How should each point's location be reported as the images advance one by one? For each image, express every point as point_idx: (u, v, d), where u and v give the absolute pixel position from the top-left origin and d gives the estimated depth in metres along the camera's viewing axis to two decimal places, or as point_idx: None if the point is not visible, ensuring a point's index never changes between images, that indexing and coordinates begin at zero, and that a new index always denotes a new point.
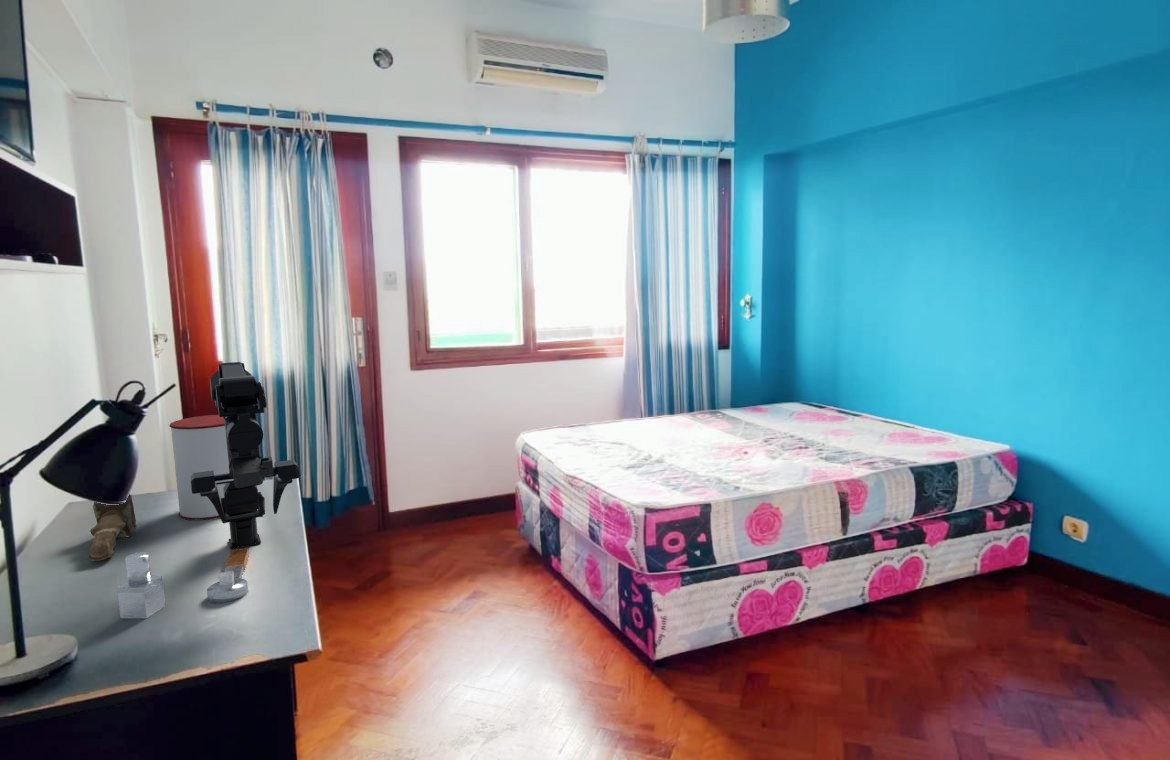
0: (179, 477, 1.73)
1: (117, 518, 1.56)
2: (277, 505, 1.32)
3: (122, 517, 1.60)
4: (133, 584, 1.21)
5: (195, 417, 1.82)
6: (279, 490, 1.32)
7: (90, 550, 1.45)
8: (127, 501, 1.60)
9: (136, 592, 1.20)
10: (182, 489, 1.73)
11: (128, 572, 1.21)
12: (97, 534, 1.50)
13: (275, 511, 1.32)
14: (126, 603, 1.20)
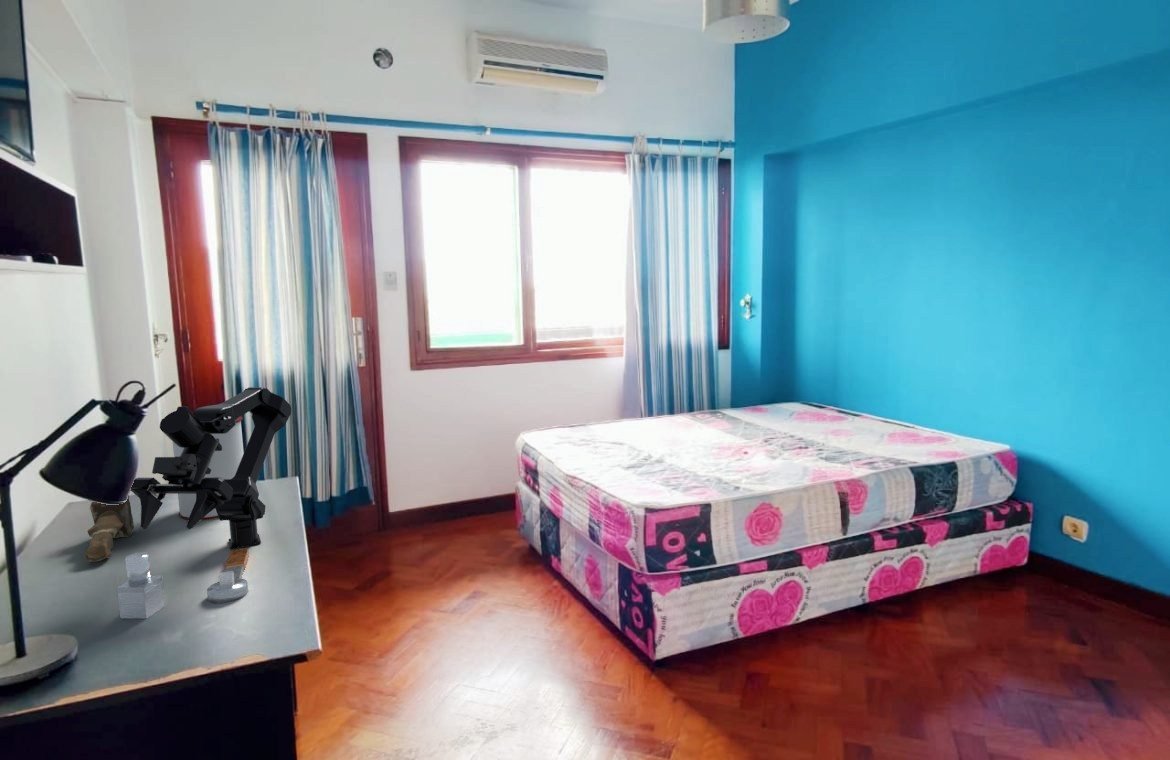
0: None
1: (114, 518, 1.56)
2: (191, 517, 1.29)
3: (119, 518, 1.59)
4: (133, 584, 1.21)
5: None
6: (198, 501, 1.31)
7: (87, 551, 1.44)
8: None
9: (136, 592, 1.20)
10: None
11: (128, 572, 1.21)
12: (94, 535, 1.50)
13: (187, 524, 1.29)
14: (126, 603, 1.20)
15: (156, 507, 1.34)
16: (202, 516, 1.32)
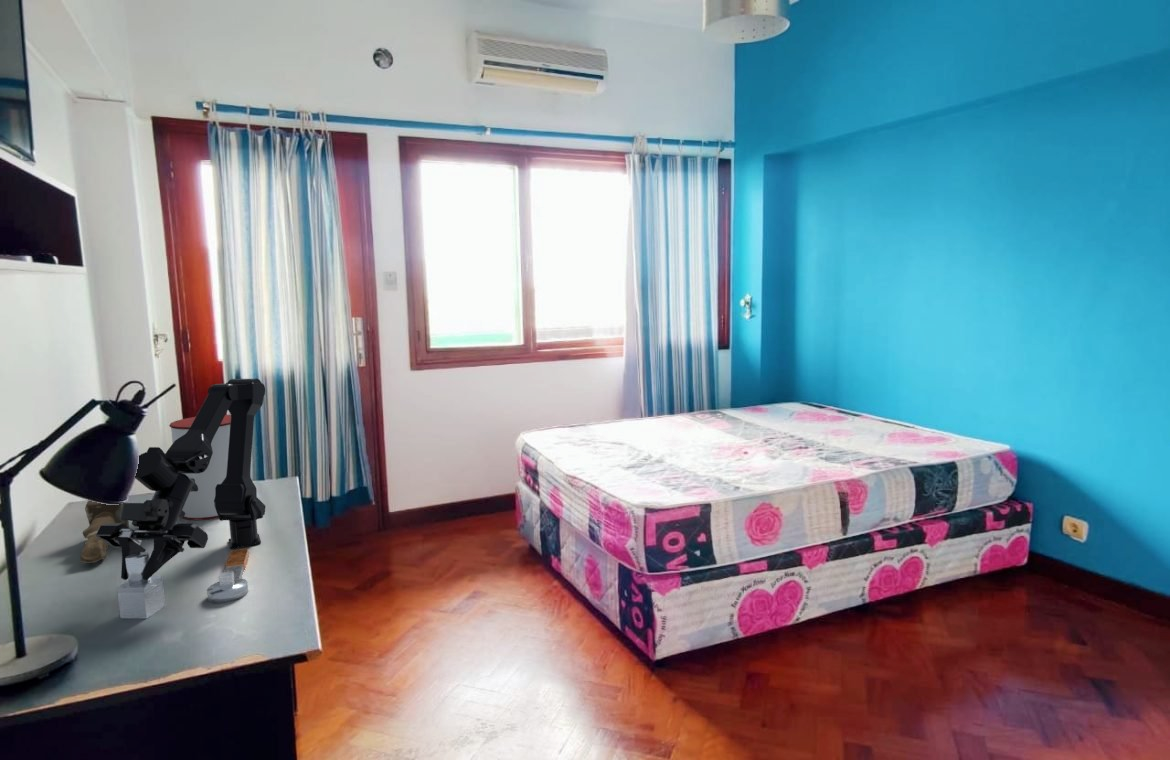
0: None
1: (109, 519, 1.55)
2: (148, 567, 1.21)
3: (115, 519, 1.58)
4: (133, 584, 1.21)
5: (195, 417, 1.83)
6: (156, 550, 1.23)
7: (82, 552, 1.44)
8: None
9: (136, 592, 1.20)
10: None
11: (128, 572, 1.21)
12: (89, 536, 1.49)
13: (143, 574, 1.21)
14: (126, 603, 1.20)
15: None
16: (160, 565, 1.24)
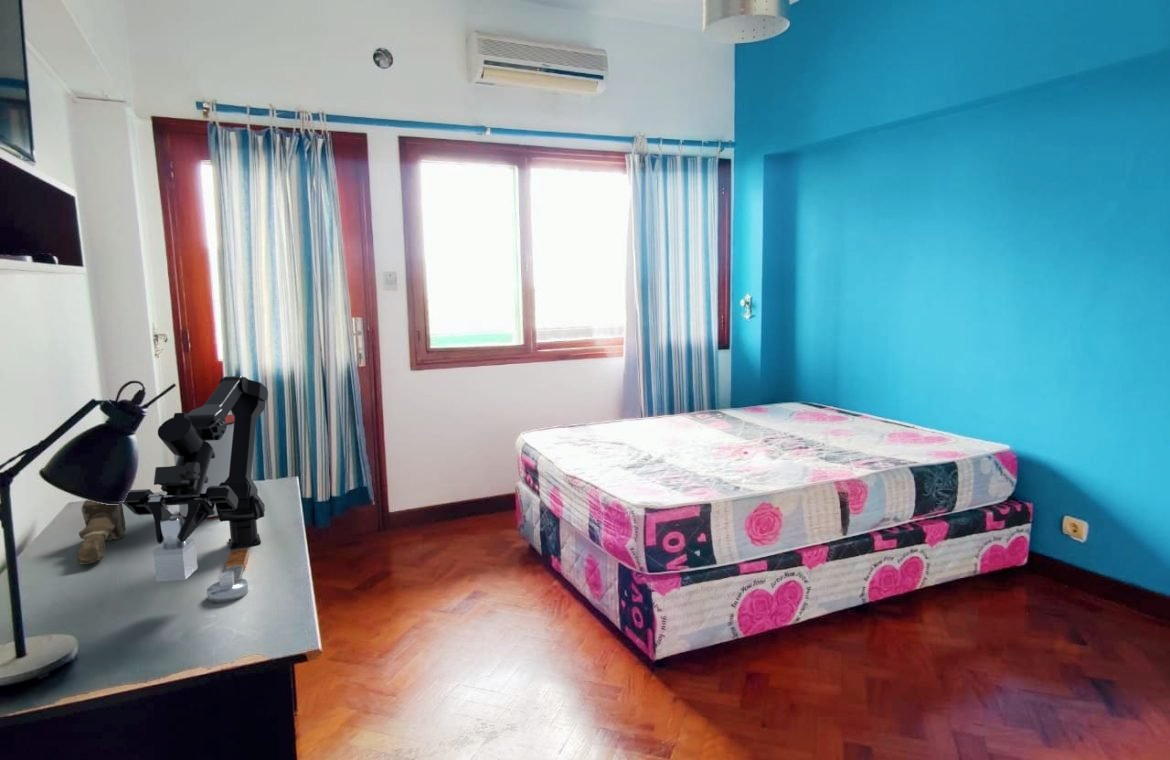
0: None
1: (106, 520, 1.54)
2: (185, 529, 1.23)
3: (111, 519, 1.58)
4: (170, 547, 1.22)
5: None
6: (191, 512, 1.24)
7: (79, 553, 1.43)
8: None
9: (174, 554, 1.22)
10: None
11: (164, 535, 1.22)
12: (86, 537, 1.48)
13: (181, 536, 1.22)
14: (163, 566, 1.22)
15: None
16: (194, 527, 1.25)
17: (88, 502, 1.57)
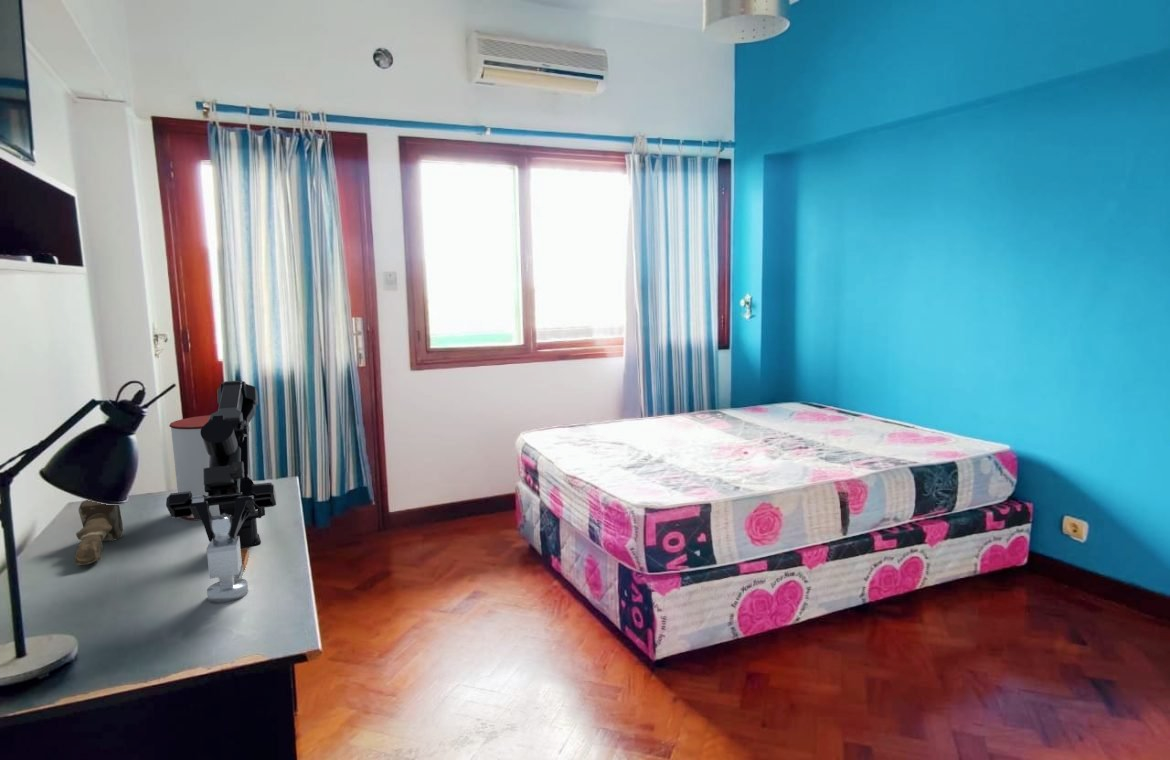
0: (179, 477, 1.73)
1: (103, 521, 1.54)
2: (235, 526, 1.28)
3: (108, 520, 1.58)
4: (222, 544, 1.27)
5: (195, 417, 1.83)
6: (238, 510, 1.29)
7: (76, 554, 1.43)
8: None
9: (227, 550, 1.26)
10: (182, 489, 1.73)
11: (216, 533, 1.26)
12: (83, 538, 1.48)
13: (233, 533, 1.27)
14: (216, 562, 1.26)
15: None
16: (240, 525, 1.30)
17: (85, 503, 1.57)
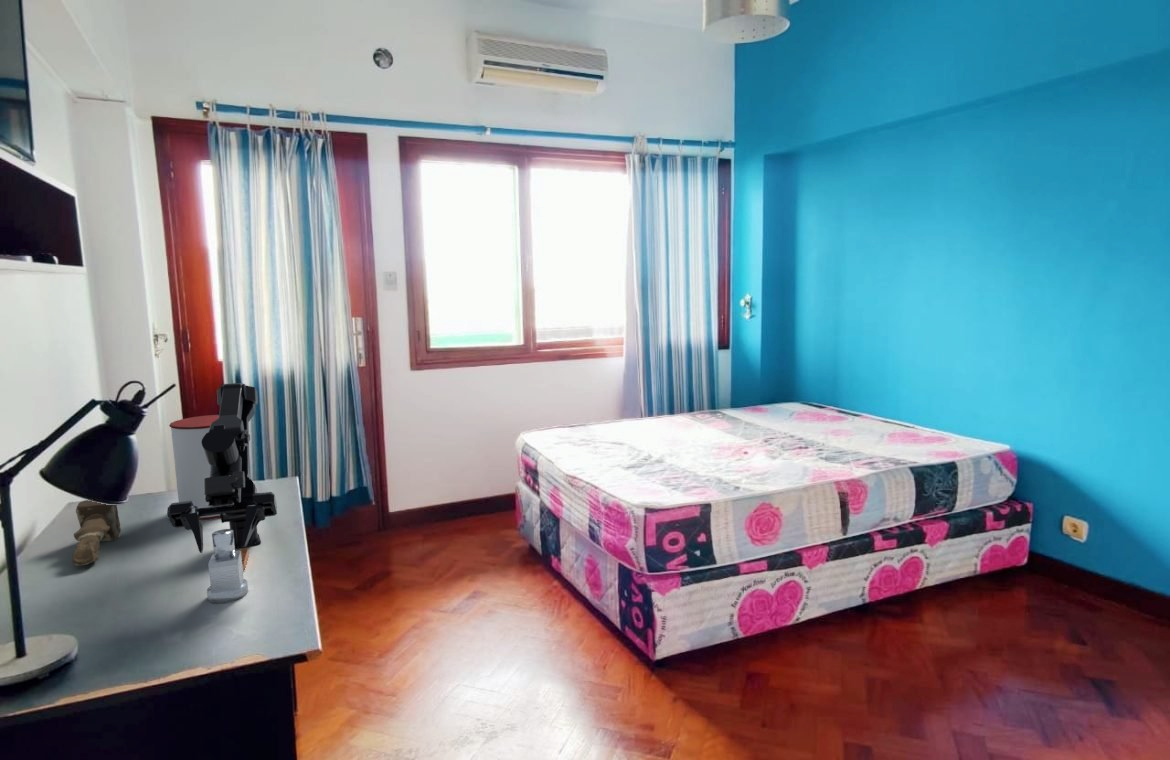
0: (179, 477, 1.73)
1: (101, 522, 1.54)
2: (246, 535, 1.29)
3: (106, 521, 1.57)
4: (224, 558, 1.27)
5: (195, 417, 1.82)
6: (249, 518, 1.30)
7: (74, 555, 1.42)
8: None
9: (229, 565, 1.27)
10: (182, 489, 1.73)
11: (218, 548, 1.26)
12: (81, 538, 1.48)
13: (244, 541, 1.28)
14: (218, 577, 1.26)
15: (201, 530, 1.29)
16: (251, 533, 1.31)
17: (82, 503, 1.57)
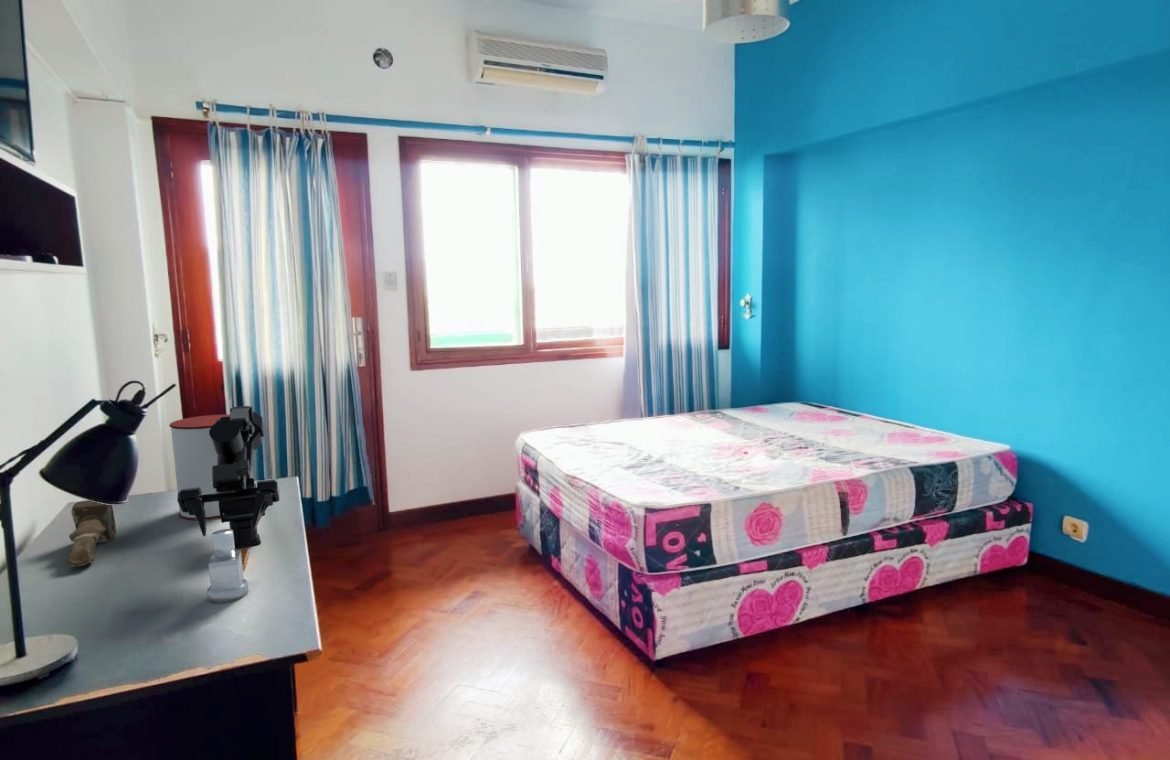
0: (179, 477, 1.73)
1: (96, 522, 1.53)
2: (255, 518, 1.38)
3: (102, 522, 1.56)
4: (224, 558, 1.27)
5: (195, 417, 1.82)
6: (258, 503, 1.40)
7: (70, 556, 1.42)
8: (107, 505, 1.57)
9: (229, 565, 1.27)
10: None
11: (218, 548, 1.26)
12: (76, 539, 1.47)
13: (253, 524, 1.38)
14: (218, 577, 1.26)
15: (204, 515, 1.38)
16: (260, 517, 1.41)
17: (78, 504, 1.56)
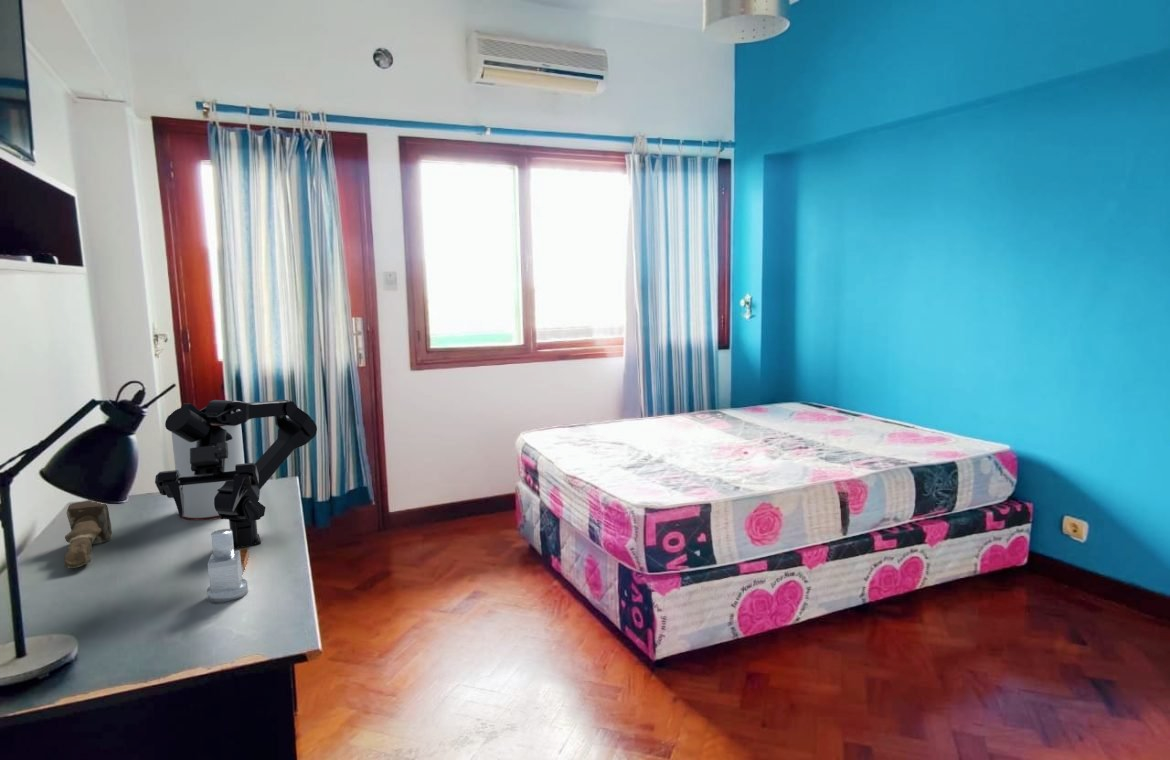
0: None
1: (92, 524, 1.52)
2: (233, 501, 1.39)
3: (97, 523, 1.56)
4: (223, 558, 1.27)
5: None
6: (236, 486, 1.40)
7: (66, 557, 1.41)
8: (102, 506, 1.57)
9: (228, 565, 1.27)
10: None
11: (217, 548, 1.26)
12: (72, 540, 1.46)
13: (231, 507, 1.38)
14: (217, 577, 1.26)
15: (183, 498, 1.39)
16: (238, 500, 1.41)
17: (73, 505, 1.55)
